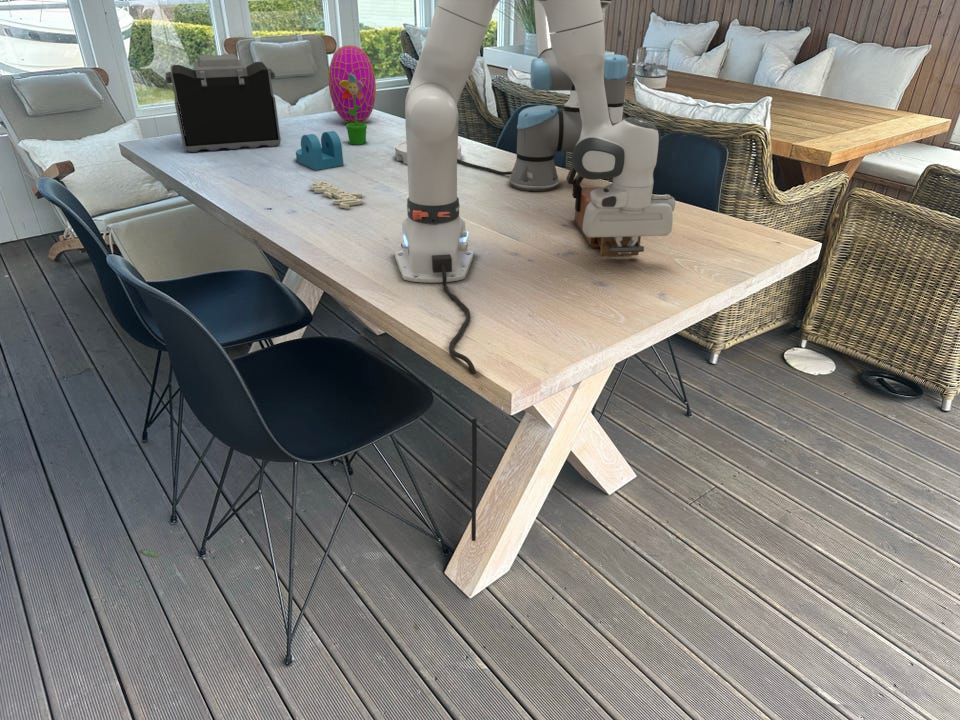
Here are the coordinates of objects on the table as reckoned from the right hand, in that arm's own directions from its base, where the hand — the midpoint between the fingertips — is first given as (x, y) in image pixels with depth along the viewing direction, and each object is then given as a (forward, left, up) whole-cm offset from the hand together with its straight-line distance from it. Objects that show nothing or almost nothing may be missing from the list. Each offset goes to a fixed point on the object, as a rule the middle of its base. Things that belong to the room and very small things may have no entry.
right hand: (597, 209), depth 182 cm
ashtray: (-82, -25, -5) cm, 86 cm away
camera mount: (-86, -63, -5) cm, 107 cm away
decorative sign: (-47, -62, -5) cm, 78 cm away
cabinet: (+5, -1, -5) cm, 7 cm away
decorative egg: (-148, -40, -5) cm, 153 cm away
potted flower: (-111, -45, -5) cm, 120 cm away
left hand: (+26, -6, -2) cm, 27 cm away
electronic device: (-123, -91, -5) cm, 153 cm away
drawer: (+17, -4, -4) cm, 18 cm away
